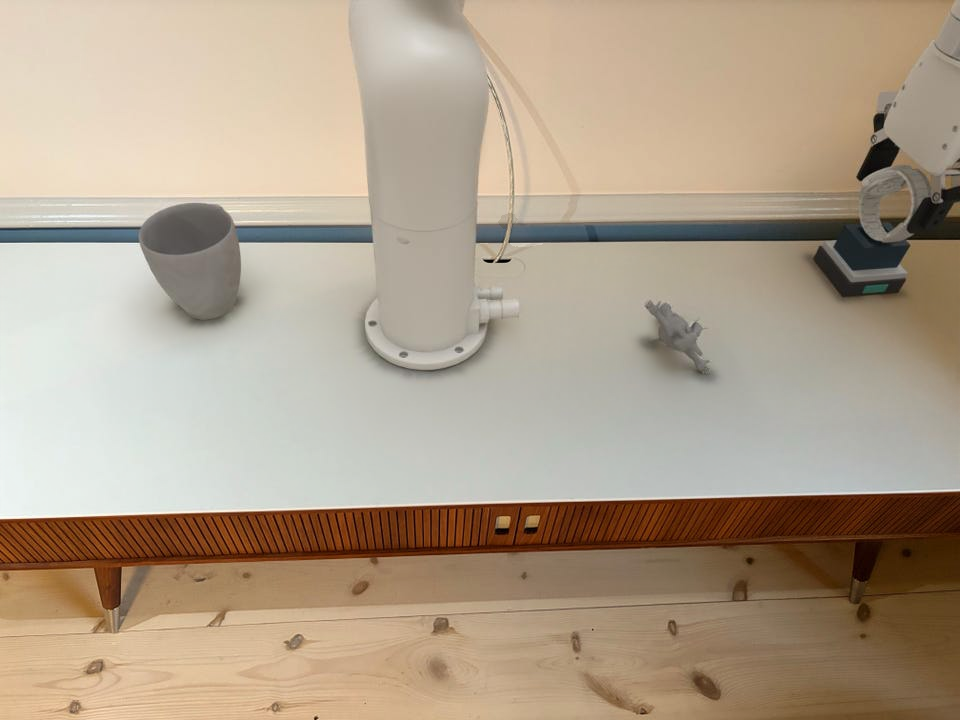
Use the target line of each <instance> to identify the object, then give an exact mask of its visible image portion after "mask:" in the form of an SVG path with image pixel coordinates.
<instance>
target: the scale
mask: <svg viewBox="0 0 960 720" xmlns="http://www.w3.org/2000/svg"><path fill="white" fill-rule="evenodd" d="M836 241H837V239H833V240H825V241H823V244H822V245H819V246H818V248H817V250H816V252H815V254H814V256H813V257H812V259H813V261H814V262H815V264H816V265H817V266H818V268H819V269H820V270H821V271H822V273H823V274H824V275H825V277H826V278H827V279H828V280H829V282H830V283H831V284H832V286H834V288H835V290H836V291H837V293H839V295H840V296H841V297H842V298H853V297H863V296H876V295H887V294H897V293H900V291H901V289H902V288H903V286H904V284H905V283H906V281H907V278H906V277H907V274H908V272H907V271H906V269H904V268H903V266H902V265H901V263H900V264H899V265H898V267H896V268H883V269H869V270H856V271H852V269H851V268H850V267H849V266H848V265H847V263H846V262H845V261H844V260H843V258H842V257H841V256H840V255H839V254H838V252H837V251H836V250H835V249H834V245H835V243H836Z"/></svg>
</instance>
